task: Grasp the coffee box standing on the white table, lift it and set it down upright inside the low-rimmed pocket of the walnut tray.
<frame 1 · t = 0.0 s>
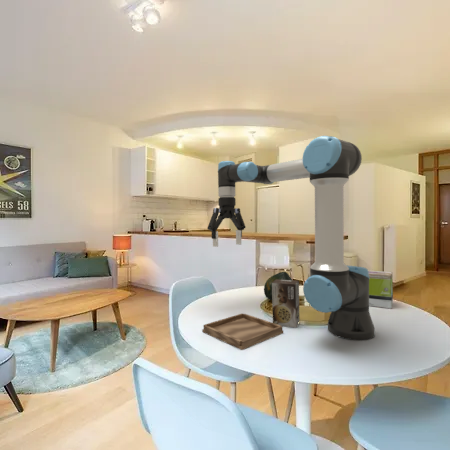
hand: (227, 245, 132), 28 cm above the table, fingers open, 13 cm apart
walnut tray: (242, 332, 105), on the table
squash: (280, 300, 145), on the table
tea box: (373, 304, 137), on the table
coffee box: (286, 324, 113), on the table
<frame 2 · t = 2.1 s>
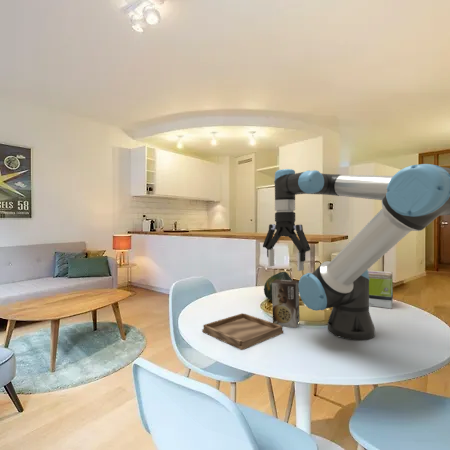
hand: (285, 268, 113), 21 cm above the table, fingers open, 13 cm apart
nothing on the table moved.
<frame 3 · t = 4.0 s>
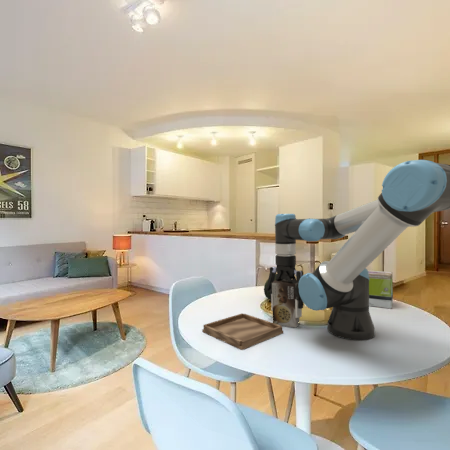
hand: (286, 313, 113), 4 cm above the table, fingers closed on coffee box, 10 cm apart
coffee box: (286, 324, 113), on the table, touching gripper
everything else where it was.
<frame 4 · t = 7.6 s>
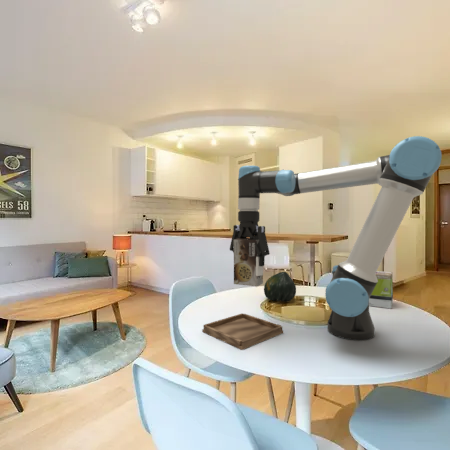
hand: (248, 273, 106), 20 cm above the table, fingers closed on coffee box, 10 cm apart
coffee box: (248, 284, 107), point 16 cm above the table, touching gripper
everything else where it was.
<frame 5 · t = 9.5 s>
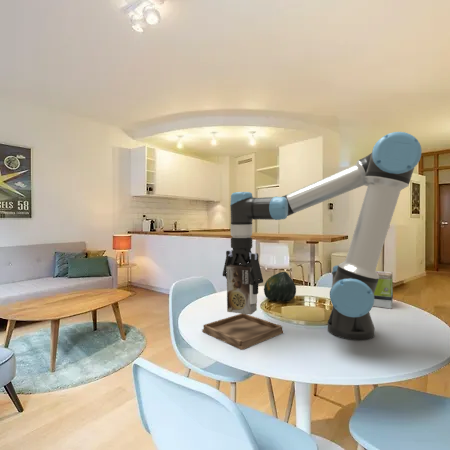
hand: (241, 300, 105), 11 cm above the table, fingers closed on coffee box, 10 cm apart
coffee box: (241, 311, 105), point 7 cm above the table, touching gripper
everything else where it was.
when the fingers open (6 cm above the table, at t = 11.1 s): coffee box drops 1 cm, resting on walnut tray.
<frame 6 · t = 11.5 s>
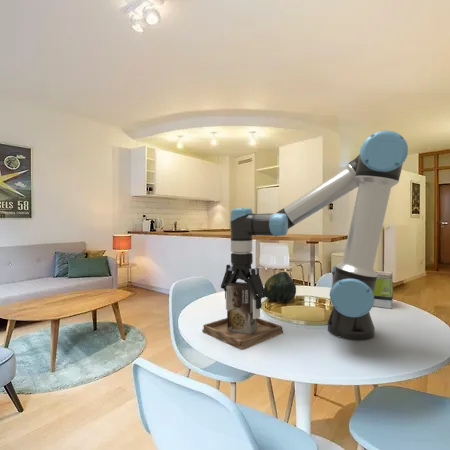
hand: (242, 313, 105), 7 cm above the table, fingers open, 13 cm apart
coffee box: (242, 330, 105), point 1 cm above the table, touching walnut tray
everything else where it was.
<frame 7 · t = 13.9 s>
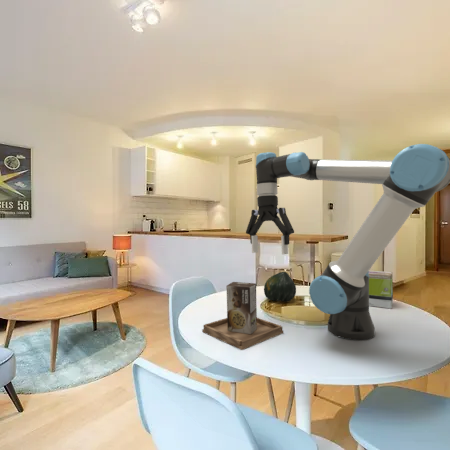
hand: (269, 253, 111), 27 cm above the table, fingers open, 13 cm apart
nothing on the table moved.
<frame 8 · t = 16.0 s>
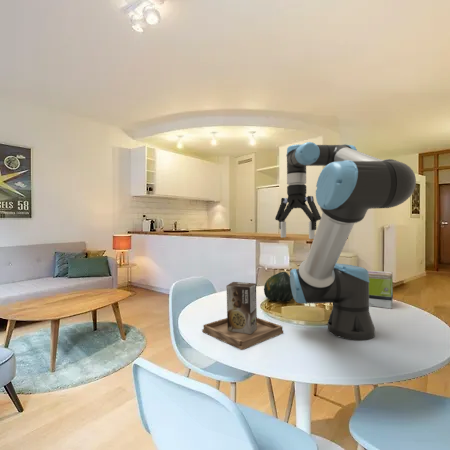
hand: (297, 238, 120), 32 cm above the table, fingers open, 13 cm apart
nothing on the table moved.
at the end: coffee box inside the target area on the walnut tray (0.3 cm from its centre), point 0.6 cm above the walnut tray's base; coffee box tilted 0°; the gripper is holding nothing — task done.
